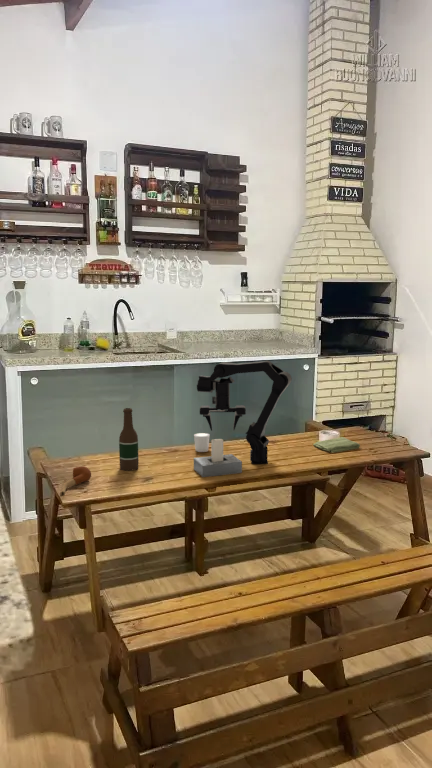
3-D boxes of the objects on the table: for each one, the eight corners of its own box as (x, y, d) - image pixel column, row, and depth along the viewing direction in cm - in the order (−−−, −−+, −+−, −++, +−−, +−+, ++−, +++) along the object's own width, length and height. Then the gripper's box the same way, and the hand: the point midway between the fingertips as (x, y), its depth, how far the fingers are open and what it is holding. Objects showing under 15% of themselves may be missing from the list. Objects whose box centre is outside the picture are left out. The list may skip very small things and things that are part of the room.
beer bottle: (142, 466, 259) (141, 407, 255) (133, 471, 252) (132, 411, 248) (125, 464, 261) (123, 406, 257) (115, 469, 254) (114, 410, 250)
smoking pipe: (94, 479, 243) (93, 464, 242) (76, 496, 225) (75, 480, 224) (75, 478, 244) (75, 463, 243) (56, 495, 226) (56, 479, 225)
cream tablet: (221, 469, 254) (221, 438, 252) (223, 471, 252) (223, 440, 249) (211, 470, 253) (211, 439, 250) (213, 472, 250) (213, 441, 248)
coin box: (231, 464, 260) (231, 454, 259) (241, 472, 250) (241, 461, 249) (193, 469, 255) (193, 458, 254) (202, 477, 244) (202, 465, 244)
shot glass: (207, 452, 278) (207, 436, 277) (192, 451, 279) (192, 436, 278) (211, 448, 284) (211, 433, 283) (196, 447, 286) (195, 432, 285)
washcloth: (311, 447, 287) (311, 440, 287) (343, 442, 295) (344, 435, 294) (328, 454, 276) (329, 447, 275) (362, 449, 283) (362, 442, 283)
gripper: (244, 389, 272) (244, 425, 275) (200, 389, 272) (200, 425, 275) (245, 394, 261) (245, 432, 264) (199, 394, 261) (199, 432, 264)
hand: (222, 430), depth 267 cm, fingers open, 9 cm apart
